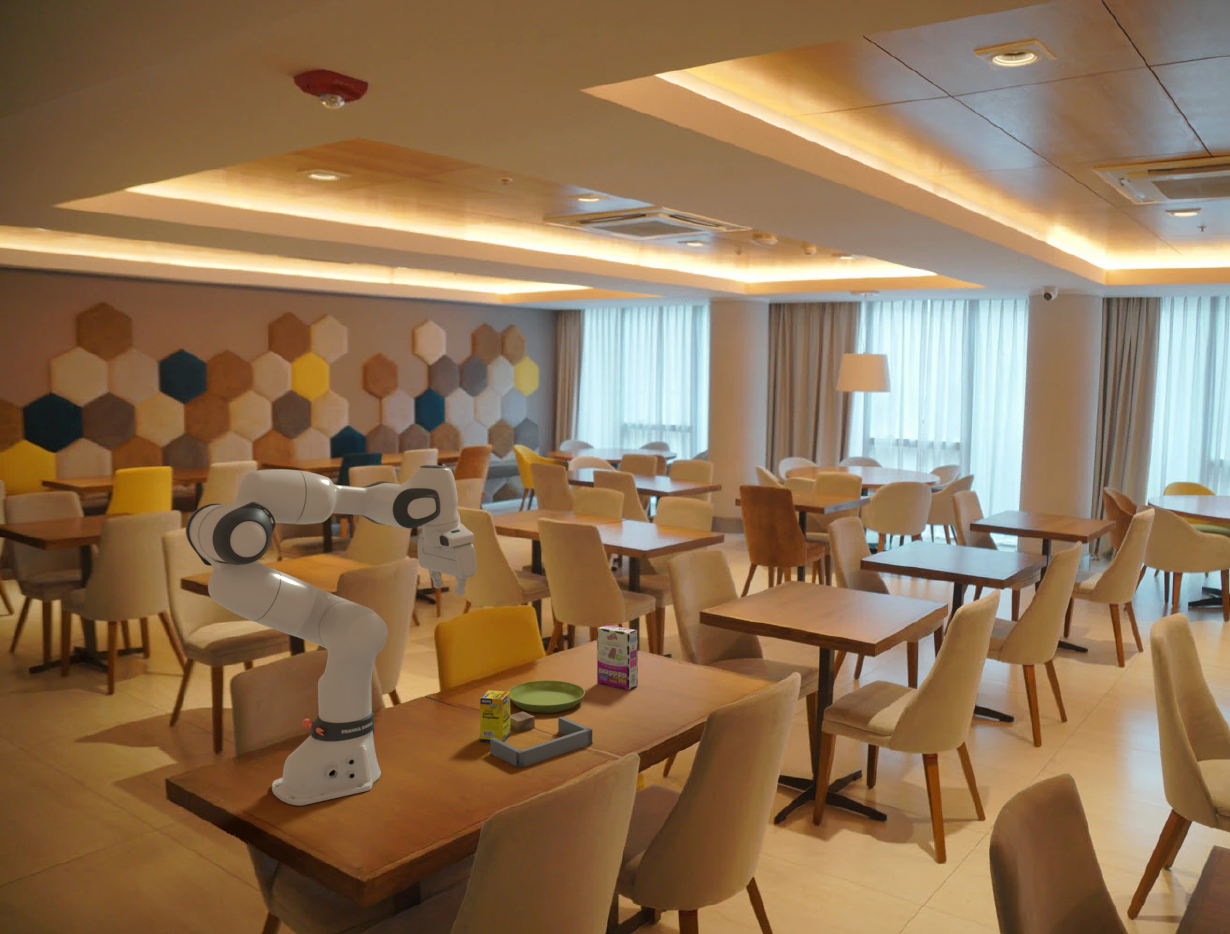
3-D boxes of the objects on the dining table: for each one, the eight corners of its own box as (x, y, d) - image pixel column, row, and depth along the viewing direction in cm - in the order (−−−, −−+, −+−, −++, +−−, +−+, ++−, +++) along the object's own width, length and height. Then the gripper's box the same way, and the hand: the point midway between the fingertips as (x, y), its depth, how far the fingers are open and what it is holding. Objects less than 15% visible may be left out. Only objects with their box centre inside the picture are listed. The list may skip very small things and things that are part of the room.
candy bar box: (638, 686, 265) (638, 629, 264) (628, 691, 261) (628, 633, 260) (606, 679, 271) (606, 623, 270) (596, 683, 267) (596, 627, 266)
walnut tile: (518, 733, 230) (518, 721, 230) (506, 727, 234) (506, 716, 234) (534, 728, 233) (534, 716, 233) (522, 722, 237) (522, 711, 237)
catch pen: (519, 768, 208) (519, 753, 208) (490, 753, 217) (490, 738, 217) (592, 743, 223) (592, 729, 222) (562, 730, 231) (562, 716, 231)
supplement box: (503, 744, 223) (503, 699, 222) (479, 742, 224) (479, 697, 223) (511, 734, 228) (510, 691, 227) (487, 733, 230) (487, 689, 229)
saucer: (555, 722, 238) (555, 710, 237) (492, 707, 248) (491, 695, 248) (599, 699, 255) (599, 687, 255) (538, 686, 266) (538, 675, 266)
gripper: (407, 531, 222) (414, 587, 224) (454, 541, 207) (461, 601, 209) (430, 525, 226) (437, 580, 228) (478, 535, 211) (484, 594, 213)
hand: (449, 590), depth 219 cm, fingers open, 8 cm apart
